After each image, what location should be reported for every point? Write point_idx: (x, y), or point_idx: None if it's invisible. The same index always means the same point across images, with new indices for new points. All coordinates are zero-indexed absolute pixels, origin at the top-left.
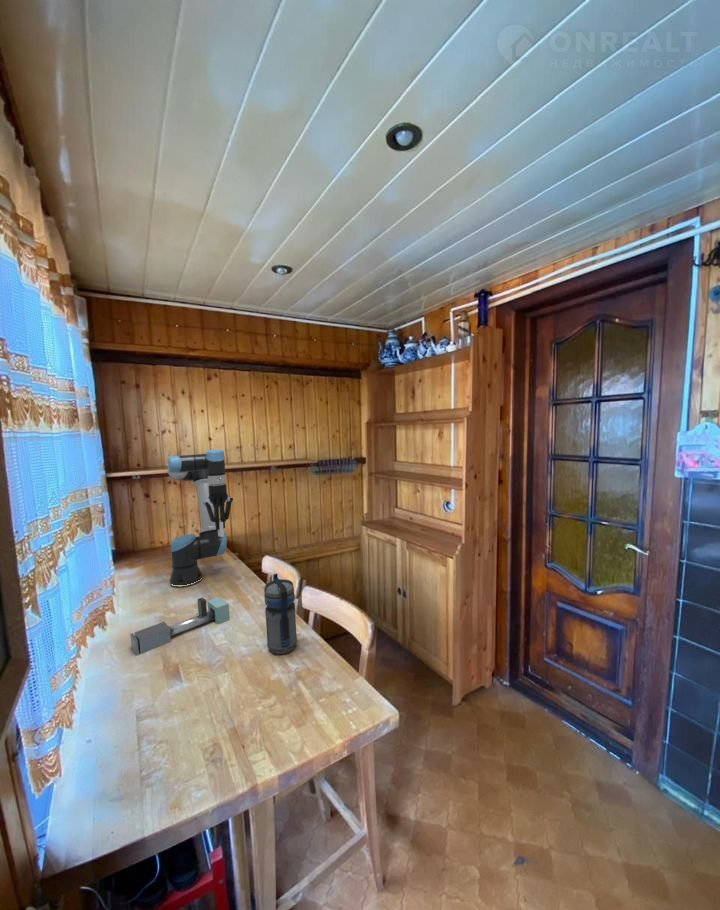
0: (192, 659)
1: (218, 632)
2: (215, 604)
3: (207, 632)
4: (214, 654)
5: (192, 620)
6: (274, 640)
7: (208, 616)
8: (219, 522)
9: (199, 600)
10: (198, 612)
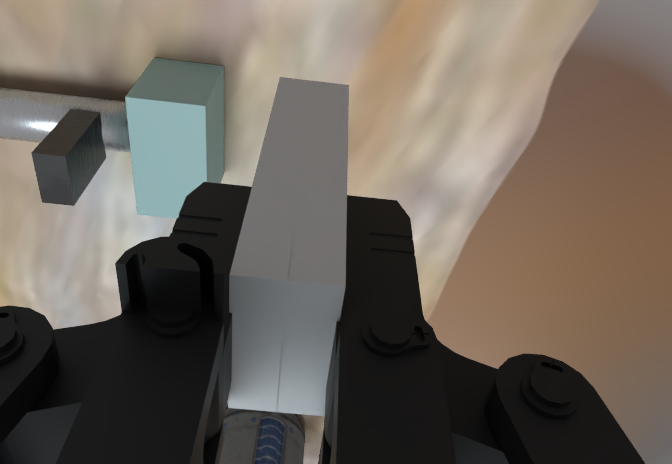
0: (7, 292)
1: (139, 222)
2: (148, 175)
3: (101, 187)
4: (79, 320)
5: (28, 140)
6: None
7: (117, 150)
8: (241, 380)
9: (39, 178)
10: (66, 114)
